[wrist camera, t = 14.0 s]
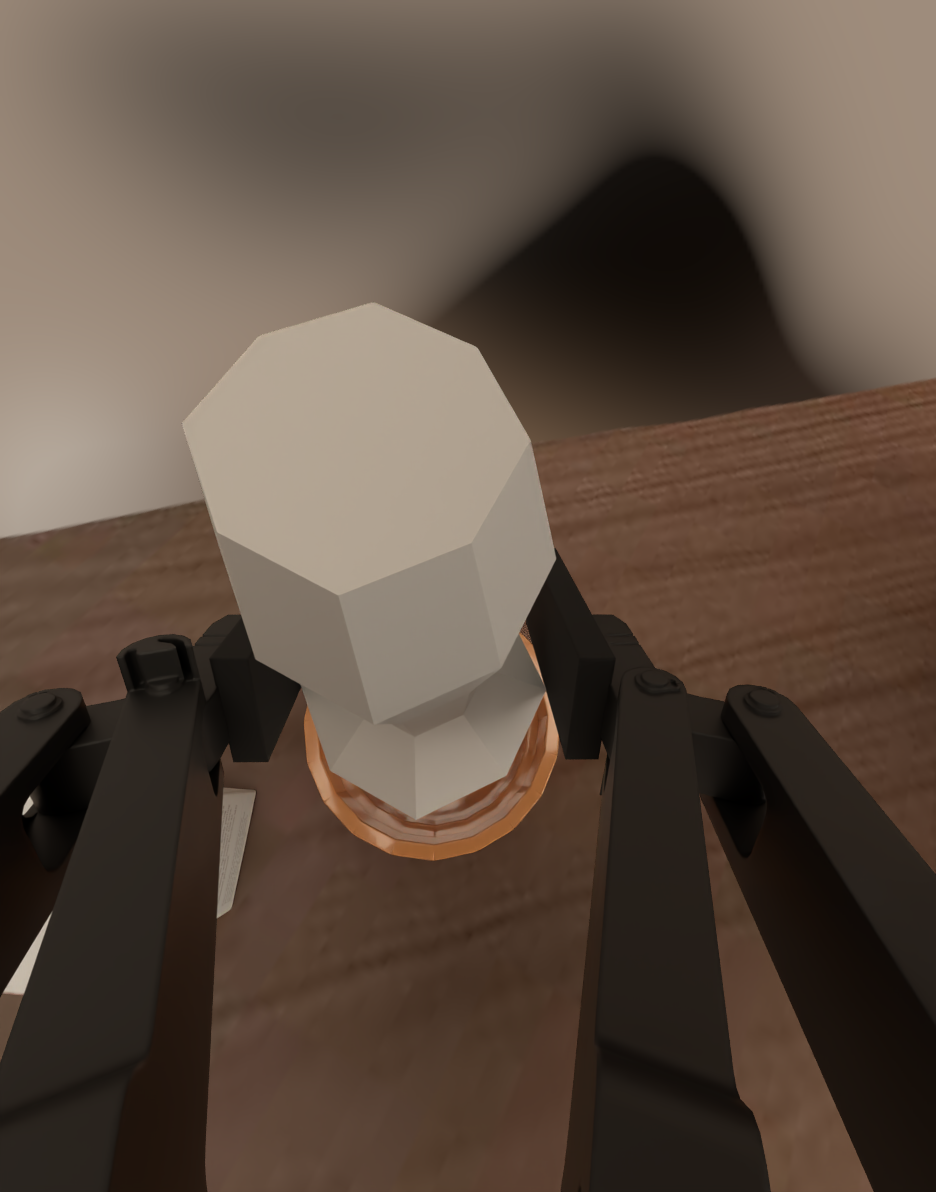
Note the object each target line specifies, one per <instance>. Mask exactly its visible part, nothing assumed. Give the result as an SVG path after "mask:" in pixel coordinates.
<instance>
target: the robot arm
mask: <svg viewBox="0 0 936 1192" xmlns="http://www.w3.org/2000/svg"><path fill="white" fill-rule="evenodd" d="M554 550H555V555H556V560H555V562H554V564H553V566H552V568H551V570H550V572H549V574H548V576H547V578H546V580H545V582H544V584H543V586H542V588H541V590H540V592H539V594H538V596H537V598H536V600H535V602H534V604H533V606H532V608H531V610H530V612H529V614H528V616H527V618H526V623H527V627H528V630H529V634H530V637H531V641H532V644H533V648H534V651H535V655H536V658H537V662H538V665H539V669H540V672H541V676H542V679H543V682H544V685H545V688H546V693H547V696H548V700H549V703H550V707H551V710H552V714H553V717H554V721H555V724H556V728H557V731H558V735H559V738H560V742H561V745H562V749H563V752H564V756H565V759H598V758H599V752H600V747H601V741H603V744H604V746H605V749H606V752H607V758H606V764H605V769H604V774H603V780H602V785H601V791H600V795H602V799H601V809H600V819H599V829H598V839H597V849H596V859H595V869H594V879H593V889H592V899H591V909H590V919H589V930H588V940H587V950H586V960H585V970H584V980H583V990H582V1000H581V1010H580V1020H579V1030H578V1040H577V1050H576V1060H575V1070H574V1080H573V1090H572V1100H571V1110H570V1121H569V1131H568V1140H567V1149H566V1157H565V1165H564V1172H563V1178H562V1185H561V1192H771V1190H770V1184H769V1177H768V1170H767V1164H766V1159H765V1154H764V1149H763V1145H762V1140H761V1135H760V1131H759V1128H758V1126H757V1123H756V1120H755V1117H754V1115H753V1112H752V1111H751V1110H750V1109H749V1108H748V1107H747V1106H746V1105H745V1103H744V1102H743V1101H742V1100H741V1099H740V1097H739V1094H738V1091H737V1088H736V1083H735V1077H734V1072H733V1064H732V1056H731V1048H730V1040H729V1031H728V1023H727V1015H726V1007H725V999H724V991H723V983H722V975H721V967H720V959H719V951H718V942H717V934H716V926H715V918H714V910H713V902H712V894H711V886H710V878H709V870H708V862H707V853H706V845H705V837H704V829H703V821H702V813H701V805H700V797H701V799H702V802H703V804H704V806H705V809H706V811H707V813H708V815H709V818H710V820H711V822H712V824H713V827H714V829H715V831H716V834H717V836H718V838H719V840H720V843H721V845H722V847H723V849H724V852H725V854H726V856H727V859H728V861H729V863H730V865H731V868H732V870H733V872H734V875H735V877H736V879H737V881H738V884H739V886H740V888H741V890H742V893H743V895H744V897H745V900H746V902H747V904H748V906H749V909H750V911H751V913H752V916H753V918H754V920H755V922H756V925H757V927H758V929H759V931H760V934H761V936H762V938H763V941H764V943H765V945H766V947H767V950H768V952H769V954H770V956H771V959H772V961H773V963H774V966H775V968H776V970H777V972H778V975H779V977H780V979H781V982H782V984H783V986H784V988H785V991H786V993H787V995H788V997H789V1000H790V1002H791V1004H792V1007H793V1009H794V1011H795V1013H796V1016H797V1018H798V1020H799V1023H800V1025H801V1027H802V1029H803V1032H804V1034H805V1036H806V1038H807V1041H808V1043H809V1045H810V1048H811V1050H812V1052H813V1054H814V1057H815V1059H816V1061H817V1063H818V1066H819V1068H820V1070H821V1073H822V1075H823V1077H824V1079H825V1082H826V1084H827V1086H828V1089H829V1091H830V1093H831V1095H832V1098H833V1100H834V1102H835V1104H836V1107H837V1109H838V1111H839V1114H840V1116H841V1118H842V1120H843V1123H844V1125H845V1127H846V1129H847V1132H848V1134H849V1136H850V1139H851V1141H852V1143H853V1145H854V1148H855V1150H856V1152H857V1155H858V1157H859V1159H860V1161H861V1164H862V1166H863V1168H864V1170H865V1173H866V1175H867V1177H868V1180H869V1182H870V1184H871V1186H872V1189H873V1191H874V1192H936V874H935V873H934V872H933V870H932V869H931V868H930V867H929V866H928V864H927V863H926V862H925V861H924V860H923V858H922V857H921V856H920V855H919V853H918V852H917V851H916V850H915V849H914V847H913V846H912V845H911V844H910V843H909V841H908V840H907V839H906V838H905V837H904V835H903V834H902V833H901V832H900V831H899V829H898V828H897V827H896V826H895V824H894V823H893V822H892V821H891V820H890V818H889V817H888V816H887V815H886V814H885V812H884V811H883V810H882V809H881V808H880V806H879V805H878V804H877V803H876V801H875V800H874V799H873V798H872V797H871V795H870V794H869V793H868V792H867V791H866V789H865V788H864V787H863V786H862V785H861V783H860V782H859V781H858V780H857V779H856V777H855V776H854V775H853V774H852V772H851V771H850V770H849V769H848V768H847V766H846V765H845V764H844V763H843V762H842V760H841V759H840V758H839V757H838V756H837V754H836V753H835V752H834V751H833V749H832V748H831V747H830V746H829V745H828V743H827V742H826V741H825V740H824V739H823V737H822V736H821V735H820V734H819V733H818V731H817V730H816V729H815V728H814V727H813V725H812V724H811V723H810V722H809V720H808V719H807V718H806V717H805V716H804V714H803V713H802V712H801V711H800V710H799V708H798V707H797V706H796V705H795V704H794V703H793V702H791V701H790V700H789V699H788V698H787V697H785V696H783V695H781V694H779V693H777V692H776V691H774V690H771V689H769V688H768V689H767V688H766V687H762V686H754V685H737V686H735V687H733V688H730V689H729V691H728V693H727V696H726V699H725V702H724V701H719V700H714V699H709V698H703V697H699V696H695V695H691V694H688V693H687V692H686V688H685V686H684V684H683V682H682V681H680V680H679V679H678V678H677V677H676V676H674V675H672V674H670V673H668V672H666V671H664V670H660V669H657V668H655V667H654V665H653V664H652V662H651V661H650V659H649V658H648V656H647V655H646V653H645V651H644V650H643V648H642V647H641V645H639V642H638V641H637V639H636V638H635V636H633V633H632V632H631V630H630V629H629V627H628V626H627V624H626V623H624V622H623V621H622V620H620V619H619V618H617V617H616V616H614V615H592V614H591V612H590V610H589V608H588V607H587V605H586V603H585V601H584V599H583V597H582V596H581V594H580V592H579V590H578V588H577V586H576V585H575V583H574V581H573V579H572V577H571V575H570V574H569V572H568V570H567V568H566V566H565V564H564V563H563V561H562V559H561V557H560V555H559V554H558V552H557V550H556V548H554ZM116 658H117V661H118V664H119V667H120V670H121V673H122V676H123V679H124V682H125V685H126V689H127V695H126V698H125V699H121V700H117V701H111V702H106V703H101V704H95V705H90V706H86V705H85V702H84V700H83V697H82V694H81V692H79V691H77V690H75V689H71V688H57V689H50V690H43V691H39V692H38V693H37V692H35V693H32V694H30V695H27V696H26V697H24V698H22V699H20V700H18V701H16V702H14V703H12V704H11V705H10V706H8V707H7V708H5V709H4V710H3V711H1V712H0V997H1V995H2V993H3V992H4V990H5V988H6V987H7V985H8V984H9V982H10V980H11V979H12V977H13V975H14V974H15V972H16V970H17V969H18V967H19V965H20V964H21V962H22V960H23V959H24V957H25V955H26V954H27V952H28V950H29V949H30V947H31V946H32V944H33V942H34V941H35V939H36V937H37V936H38V934H39V932H40V931H41V929H42V927H43V926H44V924H45V922H46V921H47V919H48V917H49V916H50V914H51V912H52V914H51V917H50V919H49V922H48V925H47V928H46V931H45V934H44V937H43V940H42V943H41V946H40V949H39V951H38V954H37V957H36V960H35V963H34V966H33V969H32V972H31V975H30V978H29V981H28V984H27V986H26V989H25V992H24V995H23V998H22V1001H21V1004H20V1007H19V1010H18V1013H17V1016H16V1019H15V1021H14V1024H13V1027H12V1030H11V1033H10V1036H9V1039H8V1042H7V1045H6V1048H5V1051H4V1053H3V1056H2V1059H1V1062H0V1192H207V1186H206V1175H205V1144H206V1124H207V1104H208V1084H209V1064H210V1044H211V1024H212V1005H213V985H214V965H215V945H216V925H217V905H218V885H219V865H220V845H221V825H222V805H223V785H224V771H223V767H222V763H221V759H220V757H221V756H222V754H223V752H224V750H225V749H226V747H227V745H228V743H229V745H230V749H231V754H232V758H233V762H268V761H269V759H270V756H271V754H272V752H273V750H274V747H275V745H276V743H277V740H278V738H279V736H280V734H281V731H282V729H283V727H284V725H285V722H286V720H287V718H288V716H289V713H290V711H291V709H292V707H293V704H294V702H295V700H296V697H297V695H298V693H299V691H300V688H301V685H300V684H299V683H297V682H296V681H294V680H292V679H290V678H288V677H286V676H285V675H283V674H281V673H279V672H277V671H276V670H274V669H272V668H270V667H268V666H267V665H265V664H263V663H261V662H259V661H258V660H256V659H255V656H254V653H253V650H252V647H251V644H250V641H249V638H248V634H247V631H246V628H245V625H244V622H243V619H242V616H241V615H227V616H225V617H223V618H222V619H220V620H218V621H217V622H215V623H213V624H212V625H211V626H210V627H209V628H208V629H207V630H206V632H205V633H204V634H203V637H200V638H199V640H198V641H197V642H196V643H195V646H192V643H191V640H190V639H189V638H187V637H185V636H182V635H175V634H169V635H158V636H154V637H149V638H145V639H142V640H140V641H137V642H135V643H132V644H131V645H129V646H127V647H126V648H124V649H123V650H121V652H120V653H119V654H118V655H117V657H116ZM699 793H700V797H699ZM29 796H30V797H31V799H32V801H33V805H32V806H31V807H30V808H29V810H28V811H27V812H26V813H25V814H24V815H22V814H23V809H24V805H25V803H26V802H27V800H28V798H29Z"/></svg>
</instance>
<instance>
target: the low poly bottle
mask: <svg viewBox="0 0 936 1192" xmlns="http://www.w3.org/2000/svg"><path fill="white" fill-rule="evenodd" d="M182 426H183V429H184V433H185V436H186V439H187V443H188V446H189V449H190V453H191V456H192V459H193V462H194V466H195V469H196V472H197V475H198V479H199V482H200V485H201V489H202V492H203V495H204V499H205V502H206V505H207V509H208V512H209V515H210V518H211V522H212V525H213V528H214V532H215V535H216V538H217V542H218V545H219V548H220V551H221V554H222V557H223V560H224V563H225V566H226V570H227V573H228V576H229V579H230V582H231V585H232V588H233V591H234V594H235V597H236V600H237V604H238V607H239V610H240V613H241V616H242V619H243V622H244V625H245V628H246V631H247V634H248V638H249V641H250V644H251V647H252V650H253V653H254V656H255V659H256V660H258V661H259V662H261V663H263V664H265V665H267V666H268V667H270V668H272V669H274V670H276V671H277V672H279V673H281V674H283V675H285V676H286V677H288V678H290V679H292V680H294V681H296V682H297V683H299V684H300V685H301V688H302V691H303V694H304V696H305V699H306V702H307V705H308V708H309V711H310V714H311V717H312V720H313V722H314V725H315V728H316V731H317V734H318V737H319V740H320V743H321V746H322V748H323V751H324V754H325V757H326V760H327V763H328V766H329V769H330V771H332V772H333V773H335V774H337V775H339V776H340V777H342V778H344V779H346V780H347V781H349V782H351V783H353V784H354V785H356V786H358V787H360V788H361V789H363V790H365V791H367V792H368V793H370V794H372V795H374V796H375V797H377V798H379V799H381V800H382V801H384V802H386V803H387V804H389V805H391V806H393V807H394V808H396V809H398V810H400V811H401V812H403V813H405V814H407V815H408V816H410V817H412V818H414V819H415V820H417V819H419V818H421V817H423V816H425V815H427V814H429V813H431V812H433V811H435V810H437V809H439V808H441V807H443V806H445V805H448V804H450V803H452V802H454V801H456V800H458V799H460V798H462V797H464V796H466V795H468V794H470V793H472V792H474V791H476V790H478V789H480V788H482V787H484V786H486V785H488V784H491V783H493V782H495V781H497V780H499V779H501V778H503V777H505V776H506V775H507V773H508V771H509V769H510V767H511V765H512V762H513V760H514V758H515V756H516V754H517V752H518V750H519V747H520V745H521V743H522V741H523V739H524V737H525V734H526V732H527V730H528V728H529V726H530V724H531V722H532V719H533V717H534V715H535V713H536V711H537V709H538V707H539V704H540V702H541V700H542V698H543V696H544V694H545V691H546V688H545V685H544V683H543V681H542V679H541V677H540V675H539V673H538V671H537V669H536V667H535V665H534V663H533V661H532V659H531V657H530V655H529V653H528V651H527V649H526V647H525V645H524V643H523V641H522V639H521V637H520V635H519V632H520V630H521V628H522V626H523V624H524V622H525V620H526V618H527V616H528V614H529V612H530V610H531V608H532V606H533V604H534V602H535V600H536V598H537V596H538V594H539V592H540V590H541V588H542V586H543V584H544V582H545V580H546V578H547V576H548V574H549V572H550V570H551V568H552V566H553V564H554V562H555V560H556V555H555V550H554V546H553V541H552V537H551V532H550V527H549V523H548V518H547V514H546V509H545V504H544V500H543V495H542V491H541V486H540V481H539V477H538V472H537V467H536V463H535V458H534V454H533V449H532V444H531V440H530V438H529V437H528V435H527V433H526V431H525V430H524V428H523V426H522V425H521V423H520V421H519V419H518V418H517V416H516V414H515V413H514V411H513V409H512V407H511V405H510V404H509V402H508V400H507V399H506V397H505V395H504V393H503V392H502V390H501V388H500V387H499V385H498V383H497V381H496V379H495V378H494V376H493V374H492V373H491V371H490V369H489V367H488V366H487V364H486V362H485V360H484V359H483V357H482V355H481V353H480V352H479V350H478V348H477V347H475V346H473V345H471V344H468V343H466V342H463V341H461V340H459V339H457V338H455V337H452V336H450V335H448V334H445V333H443V332H441V331H439V330H436V329H434V328H431V327H429V326H427V325H424V324H422V323H420V322H418V321H415V320H413V319H411V318H409V317H406V316H404V315H402V314H400V313H397V312H395V311H393V310H390V309H388V308H386V307H384V306H381V305H379V304H377V303H374V302H372V303H369V304H365V305H362V306H358V307H355V308H352V309H348V310H345V311H341V312H338V313H335V314H331V315H328V316H325V317H321V318H318V319H314V320H311V321H307V322H304V323H301V324H297V325H294V326H290V327H287V328H284V329H280V330H277V331H273V332H270V333H267V334H263V335H260V336H259V337H258V338H257V339H256V340H255V341H254V342H253V343H252V344H251V345H250V347H249V348H248V349H247V350H246V351H245V352H244V353H243V355H242V356H241V357H240V358H239V359H238V360H237V361H236V363H235V364H234V365H233V366H232V367H231V368H230V369H229V371H228V372H227V373H226V374H225V375H224V376H223V377H222V378H221V380H220V381H219V382H218V383H217V384H216V385H215V386H214V387H213V389H212V390H211V391H210V392H209V393H208V394H207V395H206V397H205V398H204V399H203V400H202V401H201V402H200V403H199V404H198V406H197V407H196V408H195V409H194V410H193V411H192V413H191V414H190V415H189V416H188V417H187V418H186V419H185V420H184V422H183V423H182Z"/></svg>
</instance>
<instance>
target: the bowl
mask: <svg viewBox="0 0 936 1192" xmlns="http://www.w3.org/2000/svg"><path fill="white" fill-rule="evenodd" d="M519 635H520V637H521V639H522V641H523V643H524V645H525V647H526V649H527V651H528V653H529V655H530V657H531V659H532V661H533V663H534V665H535V667H536V669H537V671H538V673H539V675H540V677H541V679H542V676H541V672H540V669H539V665H538V662H537V658H536V655H535V651H534V648H533V645H532V644H531V642H530V641H529V640H528V639H527V638H525V637H524V636H523V635H522V634H521V633H520V632H519ZM542 681H543V679H542ZM543 683H544V682H543ZM304 733H305V745H306V758H307V764H308V767H309V769H310V772H311V774H312V776H313V779H314V781H315V783H316V786H317V788H318V791H319V793H320V795H321V798H322V800H323V802H324V803H325V805H326V806H327V807H328V808H329V809H330V810H331V811H332V812H333V813H334V815H335V816H336V817H337V818H338V819H339V820H340V821H341V822H342V823H343V825H344V826H345V827H346V828H347V829H348V830H349V831H350V832H351V833H352V834H353V835H354V836H356V837H358V838H360V839H362V840H364V841H366V842H367V843H369V844H371V845H373V846H375V847H377V848H379V849H381V850H382V851H384V852H386V853H388V854H392V855H395V856H402V857H409V858H416V859H423V860H430V861H433V860H435V861H437V860H441V859H446V858H451V857H456V856H460V855H465V854H470V853H474V852H476V851H479V850H481V849H483V848H484V847H486V846H488V845H489V844H491V843H492V842H494V841H496V840H497V839H499V838H501V837H502V836H504V835H506V834H507V833H509V832H510V831H512V830H513V829H514V828H516V826H517V825H518V824H519V823H520V822H521V820H522V819H523V818H524V817H525V816H526V814H527V813H528V812H529V811H530V810H531V808H532V807H533V806H534V805H535V804H536V802H537V801H538V800H539V799H540V798H541V795H542V794H543V792H544V789H545V787H546V784H547V782H548V779H549V777H550V774H551V772H552V769H553V767H554V764H555V762H556V759H557V755H558V744H559V735H558V731H557V728H556V724H555V721H554V717H553V714H552V710H551V707H550V703H549V700H548V696H547V693H546V691H545V694H544V696H543V698H542V700H541V702H540V704H539V707H538V709H537V711H536V713H535V715H534V717H533V719H532V722H531V724H530V726H529V728H528V730H527V732H526V734H525V737H524V739H523V741H522V743H521V745H520V747H519V750H518V752H517V754H516V756H515V758H514V760H513V762H512V765H511V767H510V769H509V771H508V773H507V775H506V776H505V777H503V778H501V779H499V780H497V781H495V782H493V783H491V784H488V785H486V786H484V787H482V788H480V789H478V790H476V791H474V792H472V793H470V794H468V795H466V796H464V797H462V798H460V799H458V800H456V801H454V802H452V803H450V804H448V805H445V806H443V807H441V808H439V809H437V810H435V811H433V812H431V813H429V814H427V815H425V816H423V817H421V818H419V819H417V820H415V819H414V818H412V817H410V816H408V815H407V814H405V813H403V812H401V811H400V810H398V809H396V808H394V807H393V806H391V805H389V804H387V803H386V802H384V801H382V800H381V799H379V798H377V797H375V796H374V795H372V794H370V793H368V792H367V791H365V790H363V789H361V788H360V787H358V786H356V785H354V784H353V783H351V782H349V781H347V780H346V779H344V778H342V777H340V776H339V775H337V774H335V773H333V772H332V771H330V769H329V766H328V763H327V760H326V757H325V754H324V751H323V748H322V746H321V743H320V740H319V737H318V734H317V731H316V728H315V725H314V722H313V720H312V717H311V714H310V711H309V708H308V705H307V709H306V713H305V717H304Z"/></svg>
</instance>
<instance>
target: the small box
mask: <svg viewBox="0 0 936 1192" xmlns="http://www.w3.org/2000/svg"><path fill="white" fill-rule="evenodd" d="M255 796H256V791H255V790H248V789H235V788H223V805H222V825H221V845H220V865H219V885H218V905H217V918H218V917H220V916H222V915H223V914H225V913H226V912H228V911H229V910H230V909H231V908H232V904H233V899H234V895H235V890H236V885H237V881H238V876H239V872H240V867H241V862H242V858H243V853H244V848H245V844H246V839H247V834H248V829H249V825H250V820H251V815H252V810H253V805H254V800H255ZM32 805H33V801H32V799H31V797H30V796H29V798H28V800H27V802H26V803H25V805H24V809H23V814H22V815H24V814H25V813H26V812H27V811H28V810H29V808H30V807H31V806H32ZM51 914H52V912H51ZM51 914H50V916H49V917H48V919H47V921H46V922H45V924H44V926H43V927H42V929H41V931H40V932H39V934H38V936H37V937H36V939H35V941H34V942H33V944H32V946H31V947H30V949H29V950H28V952H27V954H26V955H25V957H24V959H23V960H22V962H21V964H20V965H19V967H18V969H17V970H16V972H15V974H14V975H13V977H12V979H11V980H10V982H9V984H8V985H7V987H6V988H5V990H4V992H3V993H2V994H15V995H24V992H25V989H26V986H27V984H28V981H29V978H30V975H31V972H32V969H33V966H34V963H35V960H36V957H37V954H38V951H39V949H40V946H41V943H42V940H43V937H44V934H45V931H46V928H47V925H48V922H49V919H50V917H51Z"/></svg>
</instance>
